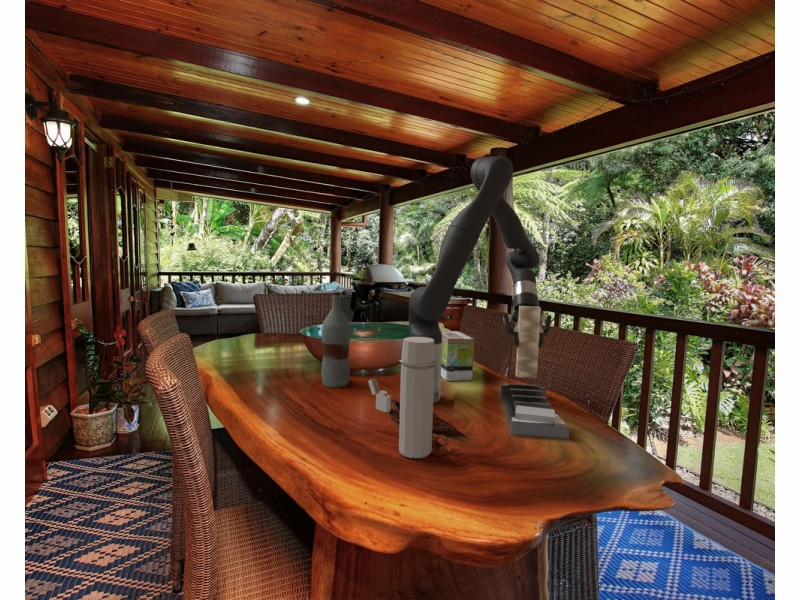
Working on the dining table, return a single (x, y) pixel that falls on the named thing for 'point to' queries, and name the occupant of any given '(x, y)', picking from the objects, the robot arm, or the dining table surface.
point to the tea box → (457, 356)
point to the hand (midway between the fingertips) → (528, 345)
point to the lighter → (380, 397)
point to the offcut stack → (536, 415)
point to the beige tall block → (528, 341)
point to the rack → (529, 398)
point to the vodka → (335, 346)
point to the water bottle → (416, 397)
